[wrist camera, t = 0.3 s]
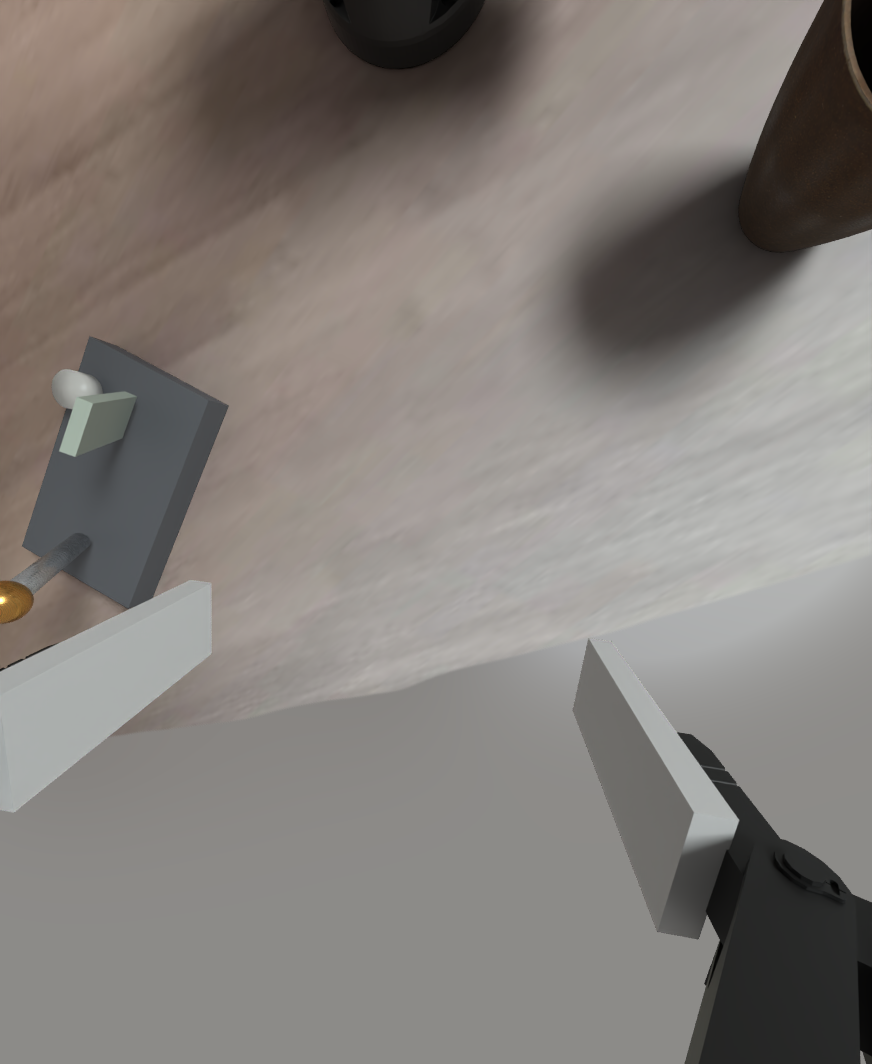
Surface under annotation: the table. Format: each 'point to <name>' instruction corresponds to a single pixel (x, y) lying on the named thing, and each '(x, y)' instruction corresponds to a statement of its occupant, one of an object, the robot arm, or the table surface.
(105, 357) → the switch panel
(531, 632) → the table surface
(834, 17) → the plant pot
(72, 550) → the steel toggle lever
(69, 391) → the white push button
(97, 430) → the sage paddle
